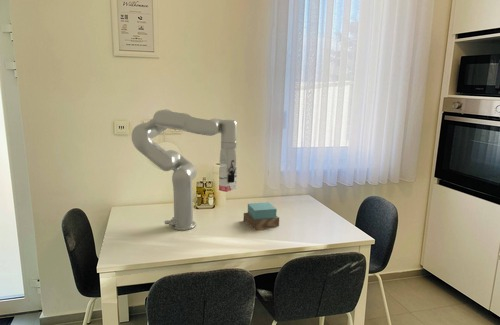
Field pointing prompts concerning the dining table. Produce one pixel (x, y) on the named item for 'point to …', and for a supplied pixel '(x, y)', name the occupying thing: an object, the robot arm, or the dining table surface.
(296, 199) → the dining table surface
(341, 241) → the dining table surface
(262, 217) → the teal top block
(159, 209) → the dining table surface
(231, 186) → the ink box
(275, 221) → the walnut base block
